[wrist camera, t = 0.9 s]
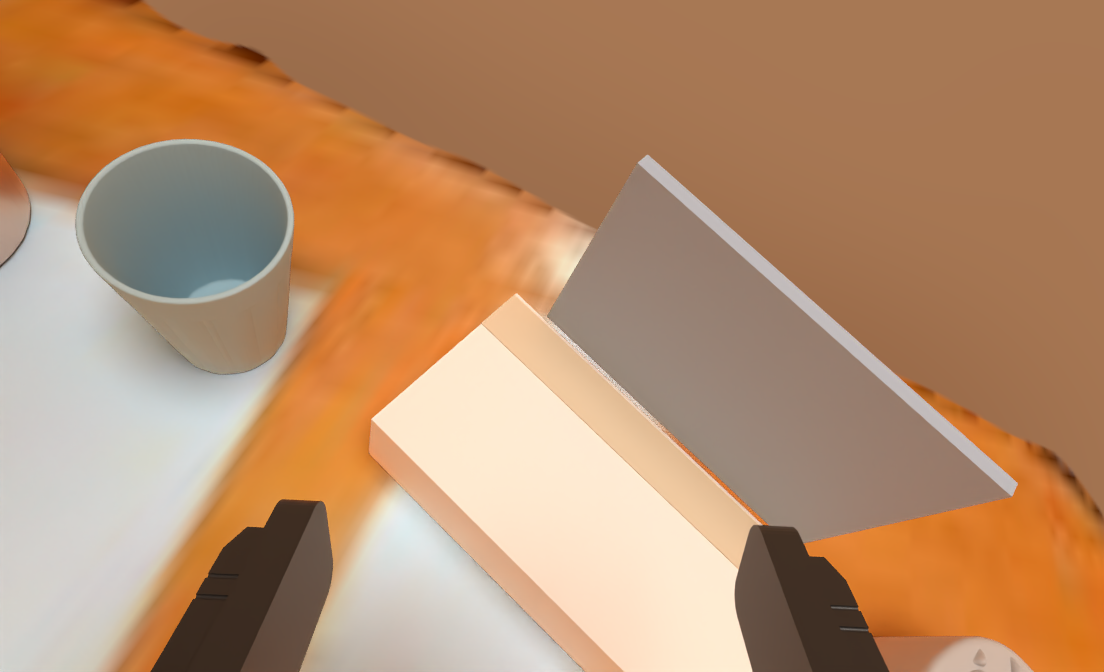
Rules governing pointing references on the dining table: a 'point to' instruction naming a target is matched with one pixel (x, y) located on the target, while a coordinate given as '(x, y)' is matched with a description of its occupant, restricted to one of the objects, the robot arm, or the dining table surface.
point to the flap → (759, 373)
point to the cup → (195, 247)
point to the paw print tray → (948, 654)
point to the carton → (571, 500)
